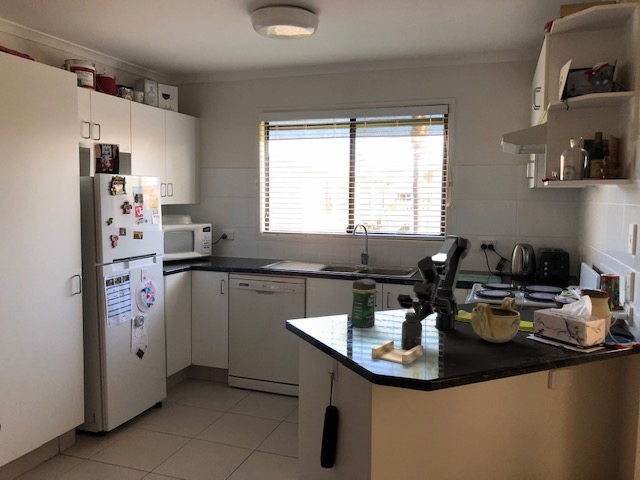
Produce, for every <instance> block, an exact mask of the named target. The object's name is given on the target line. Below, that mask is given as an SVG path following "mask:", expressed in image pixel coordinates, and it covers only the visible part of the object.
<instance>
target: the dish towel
mask: <svg viewBox="0 0 640 480" xmlns="http://www.w3.org/2000/svg"><path fill="white" fill-rule="evenodd" d="M471 315H472V312H467V311H465V310H463V309H462V310H459V313H458V315H455V320H457V321H456V322H459V321H463V322H462V323H465V322H469V323H468V324H472V321H471ZM533 323H534V322H531V321H525V320H520V327H519V330H521V331H530V332H533V328H534V327H533ZM521 331H520V332H521Z"/></svg>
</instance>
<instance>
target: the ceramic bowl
mask: <svg viewBox="0 0 640 480" xmlns="http://www.w3.org/2000/svg"><path fill="white" fill-rule="evenodd" d="M515 306H516V299H515V298H513V297H508V296H507V297H504V299H502V303H501V306H497V307H496V306H490V304H489V303H483V302H482V303H481V302H478V303H477V305H476V307H473V308H472V311H471V313H472V315H471V321H472V323H471V326H472V328H473V331H474V333H475V334H477V335H478V337H480V338H481V339H482V340H485V341H487V342H489V343H494V344H503V343H506V342H509V341H510V340H513V338H515V337H516V336H517V334H518V332H519V331H518V330H519V327H520V321H521V314H520V312H519V311H517V310H515Z"/></svg>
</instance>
